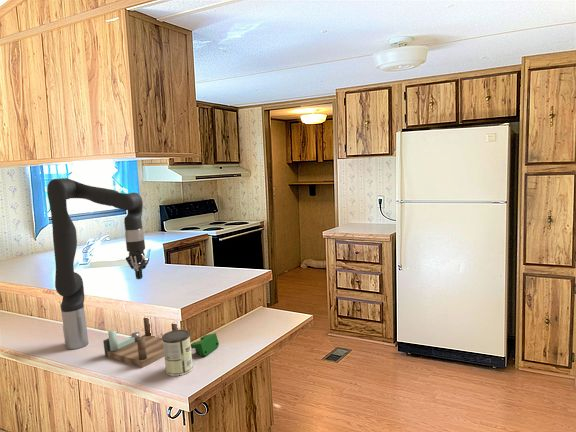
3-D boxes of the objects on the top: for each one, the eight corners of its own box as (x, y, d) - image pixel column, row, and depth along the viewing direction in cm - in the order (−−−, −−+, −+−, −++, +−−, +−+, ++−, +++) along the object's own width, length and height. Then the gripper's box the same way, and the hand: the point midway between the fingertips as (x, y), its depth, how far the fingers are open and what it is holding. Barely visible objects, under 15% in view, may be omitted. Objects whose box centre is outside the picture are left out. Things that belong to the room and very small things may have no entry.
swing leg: (136, 338, 198) (134, 320, 197) (141, 339, 196) (139, 321, 195) (108, 350, 186) (106, 332, 186) (113, 351, 185) (111, 333, 184)
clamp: (208, 356, 191) (207, 335, 194) (219, 355, 188) (218, 333, 191) (189, 357, 181) (188, 334, 184) (201, 355, 178) (200, 332, 181)
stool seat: (105, 356, 188) (102, 332, 186) (147, 337, 206) (144, 315, 205) (142, 367, 175) (140, 341, 173) (184, 346, 193) (181, 322, 192)
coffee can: (169, 364, 176) (165, 330, 174) (195, 362, 176) (192, 328, 174) (162, 377, 165) (158, 341, 164) (190, 375, 166) (187, 338, 164)
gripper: (152, 238, 191) (156, 277, 193) (132, 237, 198) (136, 275, 200) (138, 241, 185) (142, 282, 187) (117, 240, 192) (122, 279, 194)
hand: (139, 278), depth 193 cm, fingers closed
